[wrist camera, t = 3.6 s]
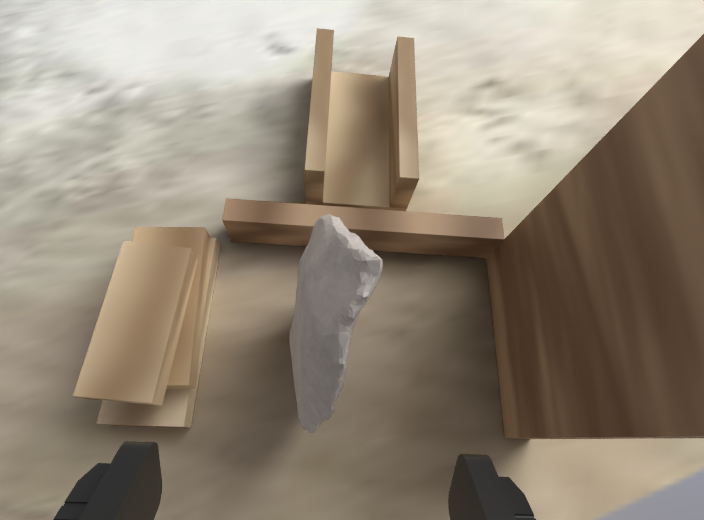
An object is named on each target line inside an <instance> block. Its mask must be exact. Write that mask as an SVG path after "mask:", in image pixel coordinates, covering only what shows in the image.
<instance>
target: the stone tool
mask: <svg viewBox="0 0 704 520" xmlns="http://www.w3.org/2000/svg"><path fill="white" fill-rule="evenodd" d="M382 267H383V263H382V259H381V258H380V257H379V256H378V255H377V254H375V253H374V252H373V250H370V249H369V248H368V247H367V246H365V244H364V243H363V241H362V240H361V239H360V237H359V236H358V235H356V234H355V233H351V232H349V230H348V229H347V228H346V226H344V224H343V222H342V221H341V220H340V218H339V217H335V216H332V215H330V214H327V215H324V216H321V217H320V218H319V219H318V220H317V221H316V222H315V224H314V228H313V231H312V234H311V238H310V241H309V244H308V245H307V247H306V249H305V251H304V253H303V255H302V257H301V259H300V261H299V267H298V283H297V292H296V304H295V312H294V316H293V321H292V325H291V329H290V334H289V343H290V351H291V359H292V371H293V377H294V386H295V394H296V400H297V411H298V419H299V422H300V424H301V426H302V427H303V429H307V430H308V432H309V433H313V432H314V431H315V430H316V429H317V428H318V427H319V425H320V423H322V422H323V421H325V420H327V419H329V418H330V416H331V414H332V413H333V411H334V407H335V401H336V399H337V397H338V395H339V392H340V391H341V389H342V386H343V379H344V375H345V372H346V368H347V358H348V349H349V344H350V339H351V335H352V331H353V327H354V324H355V321H356V318H357V316H358V314H359V312H360V310H361V309H362V307H363V306H364V305H365V303H366V302H367V300H368V299H369V297H370V296H371V294H372V293H373V291H374V289H375V287H376V285H377V283H378V281H379V279H380V276H381V273H382Z"/></svg>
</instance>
